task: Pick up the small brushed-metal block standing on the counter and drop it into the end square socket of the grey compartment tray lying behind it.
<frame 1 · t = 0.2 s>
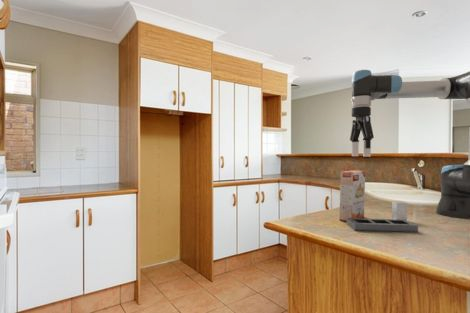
hand: (360, 156, 117), 27 cm above the counter, fingers open, 13 cm apart
cracker box: (352, 219, 118), on the counter
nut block: (399, 220, 114), on the counter
grey compartment tray: (380, 228, 103), on the counter
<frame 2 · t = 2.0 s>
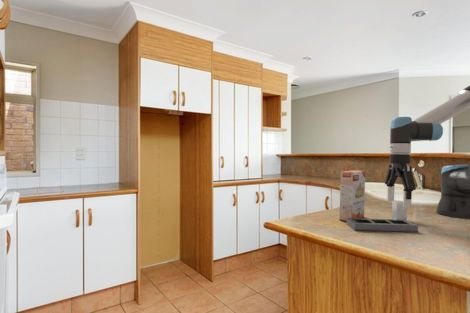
hand: (398, 204, 114), 7 cm above the counter, fingers open, 13 cm apart
nothing on the counter moved.
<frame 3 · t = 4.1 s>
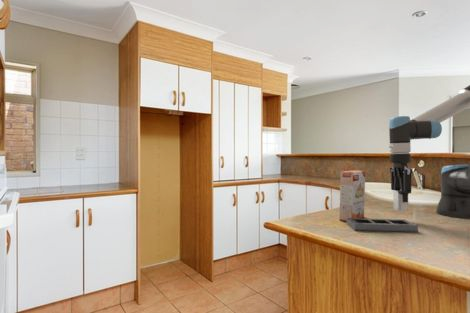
hand: (401, 208, 114), 5 cm above the counter, fingers closed on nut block, 4 cm apart
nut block: (400, 209, 114), point 5 cm above the counter, touching gripper
everything else where it was.
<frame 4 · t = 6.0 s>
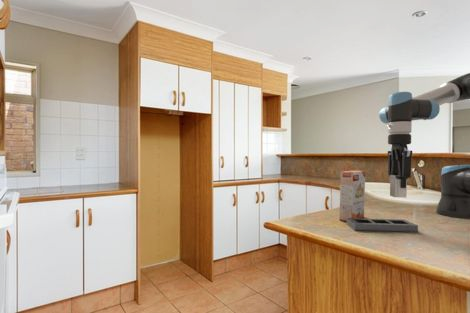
hand: (398, 195, 102), 13 cm above the counter, fingers closed on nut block, 4 cm apart
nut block: (398, 196, 102), point 12 cm above the counter, touching gripper
everything else where it was.
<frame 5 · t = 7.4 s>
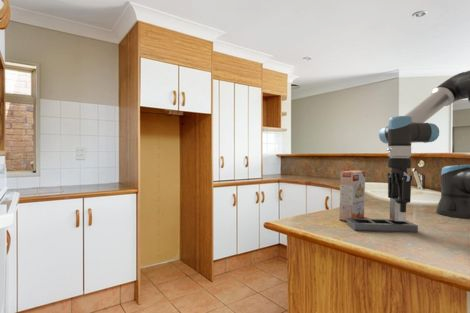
hand: (398, 219, 102), 4 cm above the counter, fingers closed on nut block, 4 cm apart
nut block: (397, 219, 102), point 3 cm above the counter, touching gripper
everything else where it was.
when the fingers open (3 cm above the counter, at t = 8.2 s): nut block drops 2 cm, resting on grey compartment tray.
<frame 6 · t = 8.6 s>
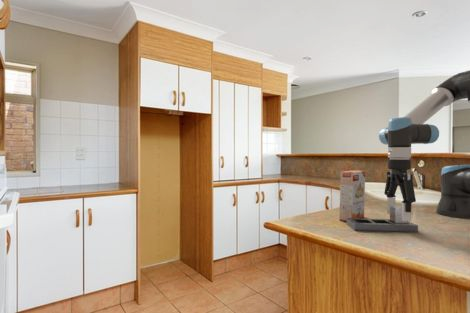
hand: (398, 217, 102), 4 cm above the counter, fingers open, 10 cm apart
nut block: (397, 227, 102), resting on grey compartment tray
everything else where it was.
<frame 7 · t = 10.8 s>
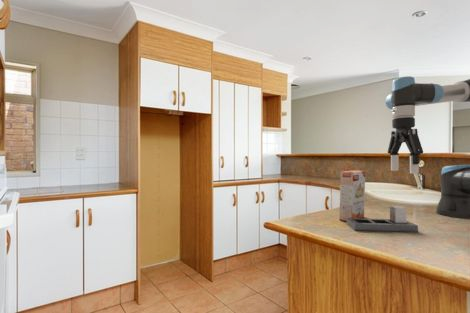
hand: (403, 172, 106), 21 cm above the counter, fingers open, 13 cm apart
nothing on the counter moved.
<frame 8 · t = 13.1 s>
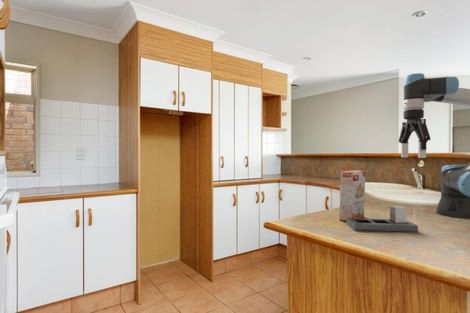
hand: (412, 157, 120), 27 cm above the counter, fingers open, 13 cm apart
nothing on the counter moved.
at the end: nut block 0.1 cm from the target spot on the grey compartment tray, point 0.3 cm above the grey compartment tray's base; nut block tilted 0°; the gripper is holding nothing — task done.
